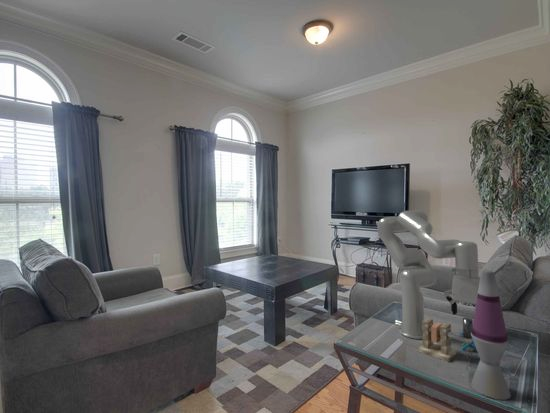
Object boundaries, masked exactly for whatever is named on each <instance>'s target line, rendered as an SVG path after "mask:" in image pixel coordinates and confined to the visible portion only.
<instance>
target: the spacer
mask: <svg viewBox="0 0 550 413" xmlns="http://www.w3.org/2000/svg"><path fill="white" fill-rule="evenodd" d="M442 325H443V324H442V323H441V322H439V321H437V322H435V323H433V325H432V326H431V342H434V343H437V344H438V342H441V337H440V335H438V329H440V326H442Z"/></svg>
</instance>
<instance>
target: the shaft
mask: <svg viewBox="0 0 550 413" xmlns="http://www.w3.org/2000/svg"><path fill="white" fill-rule="evenodd" d="M473 321H474V319H472V318H470V317H462V332H463V335H462V334H461V333H460V334H459V333H456V332H452V331H451V332H449V331H447V337H448V338H451V340H452V339H453V340H456V341H459V342H462V343H464V342H466V344H467V343H469V344H471V343H472V340H473V339H472V336H471V332H472V327H473ZM422 330H423V325H422ZM429 332H431V326H429ZM438 335H440V329H438Z"/></svg>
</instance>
